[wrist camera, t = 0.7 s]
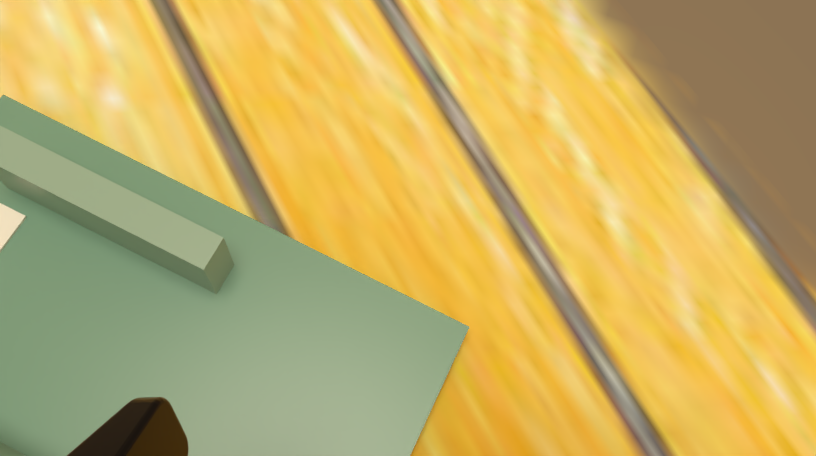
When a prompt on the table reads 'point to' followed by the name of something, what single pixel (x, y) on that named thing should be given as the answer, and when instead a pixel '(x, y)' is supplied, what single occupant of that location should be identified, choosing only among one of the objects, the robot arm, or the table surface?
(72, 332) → the board
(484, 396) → the table surface
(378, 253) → the table surface
